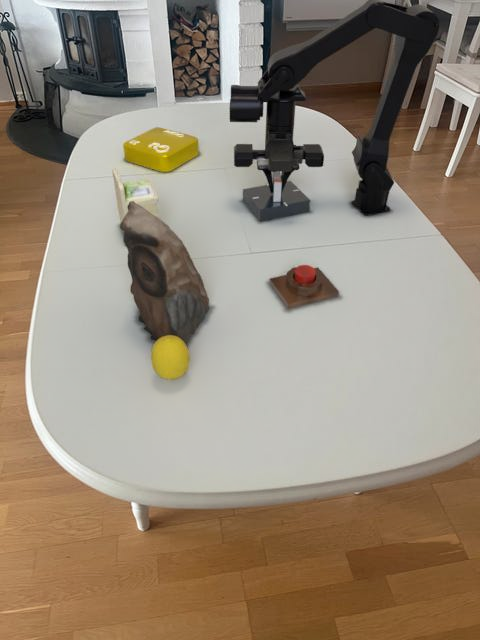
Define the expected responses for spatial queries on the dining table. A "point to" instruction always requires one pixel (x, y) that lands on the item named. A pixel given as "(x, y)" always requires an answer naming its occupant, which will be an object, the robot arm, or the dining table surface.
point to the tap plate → (266, 209)
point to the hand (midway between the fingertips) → (276, 192)
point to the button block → (303, 289)
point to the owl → (162, 276)
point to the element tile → (161, 149)
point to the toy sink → (134, 195)
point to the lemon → (170, 357)
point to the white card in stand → (276, 186)
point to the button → (304, 274)
